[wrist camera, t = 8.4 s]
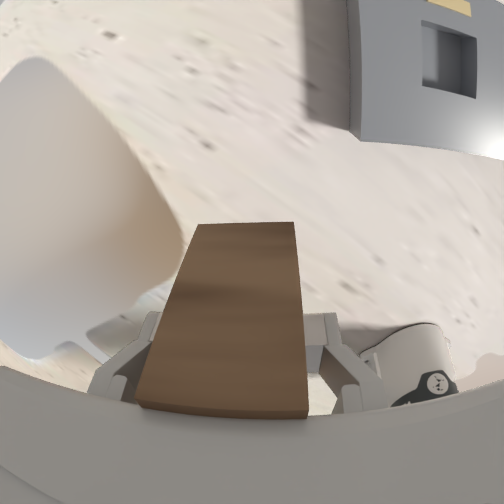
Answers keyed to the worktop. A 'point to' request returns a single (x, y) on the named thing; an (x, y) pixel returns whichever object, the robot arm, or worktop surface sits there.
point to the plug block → (232, 328)
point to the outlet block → (428, 73)
